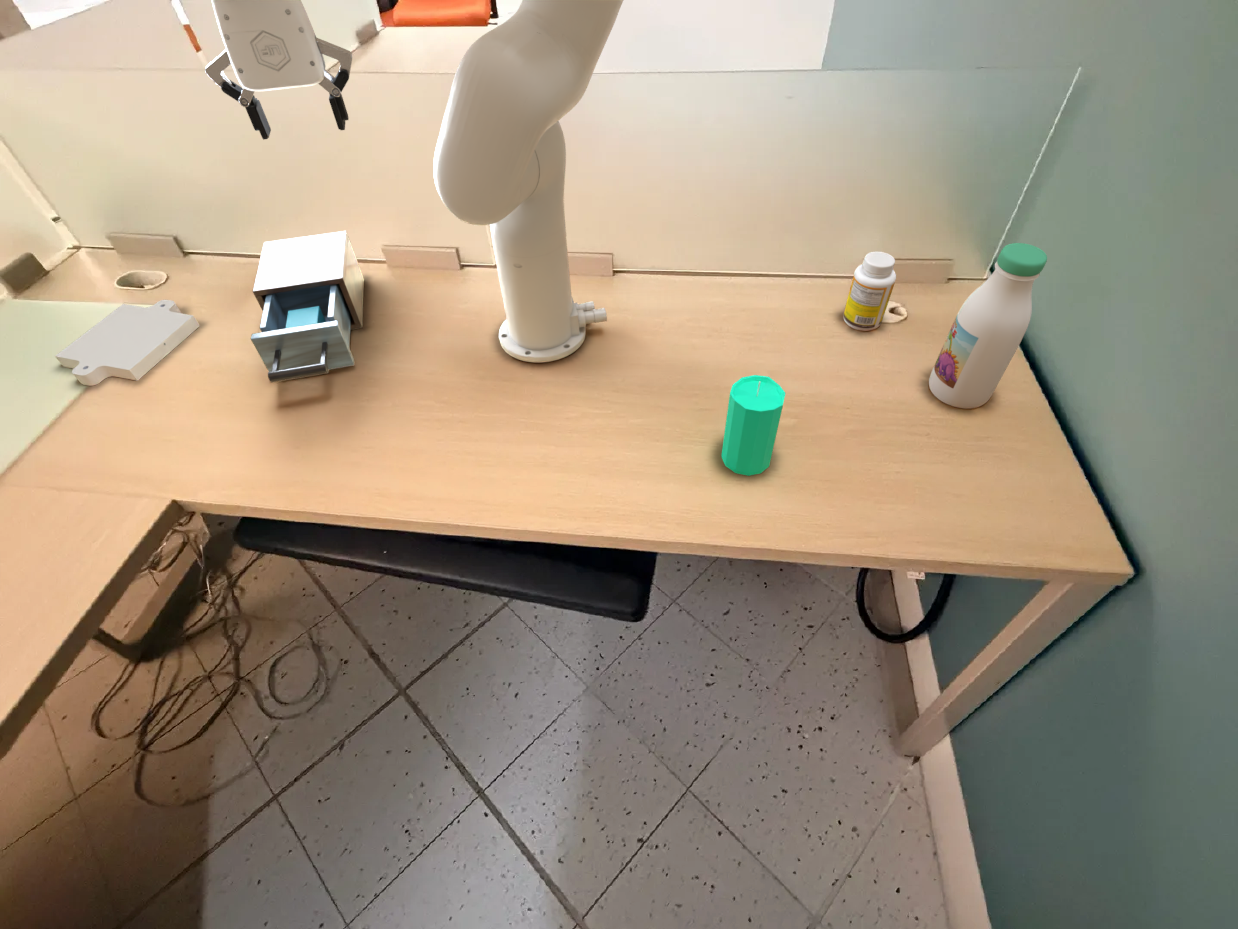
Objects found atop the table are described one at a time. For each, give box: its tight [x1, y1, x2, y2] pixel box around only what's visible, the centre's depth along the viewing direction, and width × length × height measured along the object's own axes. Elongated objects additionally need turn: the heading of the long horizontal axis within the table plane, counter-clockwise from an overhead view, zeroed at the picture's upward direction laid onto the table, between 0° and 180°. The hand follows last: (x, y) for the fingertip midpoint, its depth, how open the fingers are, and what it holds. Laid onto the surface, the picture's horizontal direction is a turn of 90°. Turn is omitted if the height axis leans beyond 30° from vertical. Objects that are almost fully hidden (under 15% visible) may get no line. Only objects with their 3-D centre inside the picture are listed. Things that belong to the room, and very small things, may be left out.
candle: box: [720, 374, 786, 477], centre depth 74 cm, size 6×6×12 cm
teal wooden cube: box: [285, 306, 326, 329], centre depth 91 cm, size 4×4×4 cm
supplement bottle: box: [842, 251, 897, 332], centre depth 92 cm, size 6×6×10 cm
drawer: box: [250, 284, 356, 383], centre depth 89 cm, size 18×11×7 cm, turn 14°
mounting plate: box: [54, 299, 201, 387], centre depth 96 cm, size 18×13×2 cm
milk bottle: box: [928, 242, 1048, 409], centre depth 78 cm, size 8×8×20 cm
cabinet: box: [252, 230, 365, 331], centre depth 98 cm, size 14×12×9 cm
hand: (305, 130), depth 87 cm, fingers open, 9 cm apart
